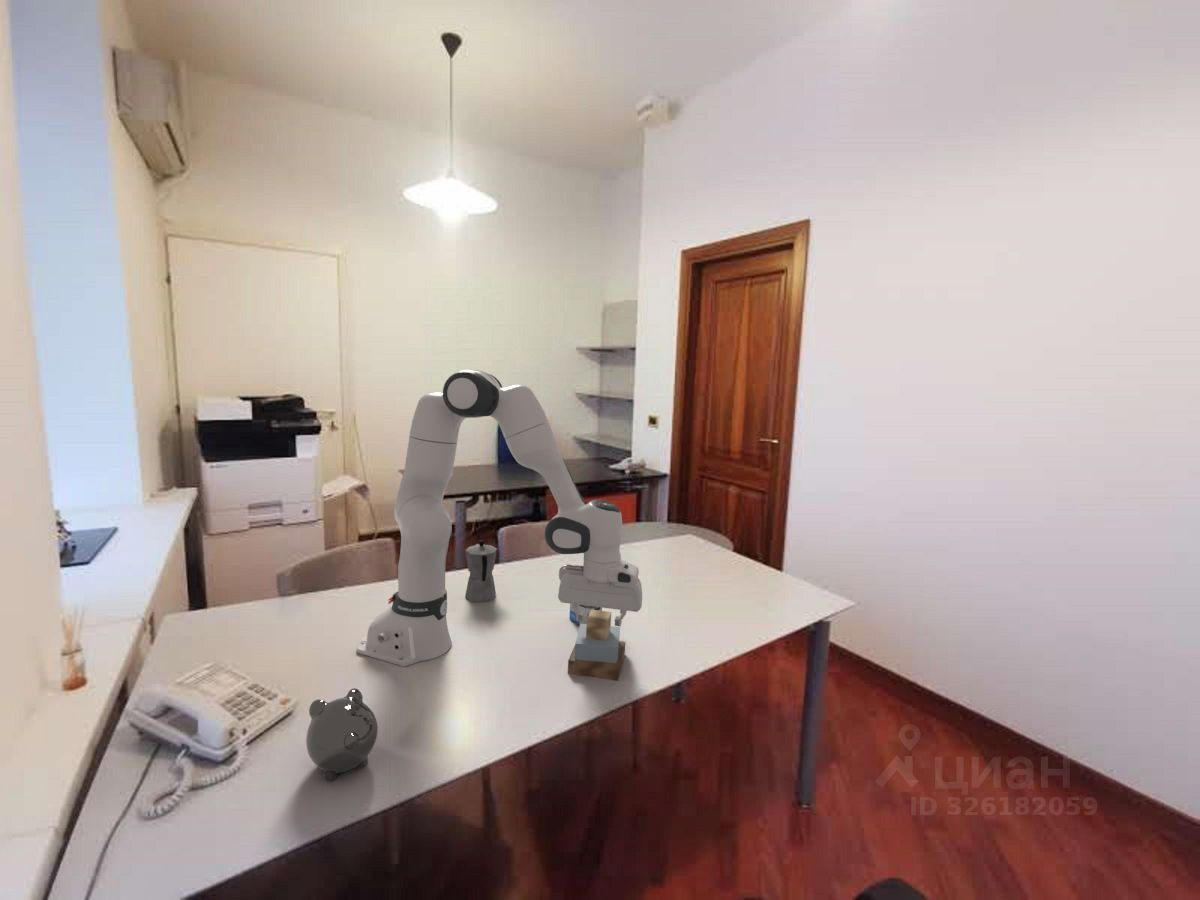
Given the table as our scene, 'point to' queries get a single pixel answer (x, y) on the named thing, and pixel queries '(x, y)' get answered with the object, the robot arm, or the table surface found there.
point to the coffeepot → (480, 572)
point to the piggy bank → (341, 734)
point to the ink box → (583, 609)
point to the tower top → (597, 646)
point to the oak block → (598, 625)
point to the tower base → (597, 666)
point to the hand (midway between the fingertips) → (598, 622)
